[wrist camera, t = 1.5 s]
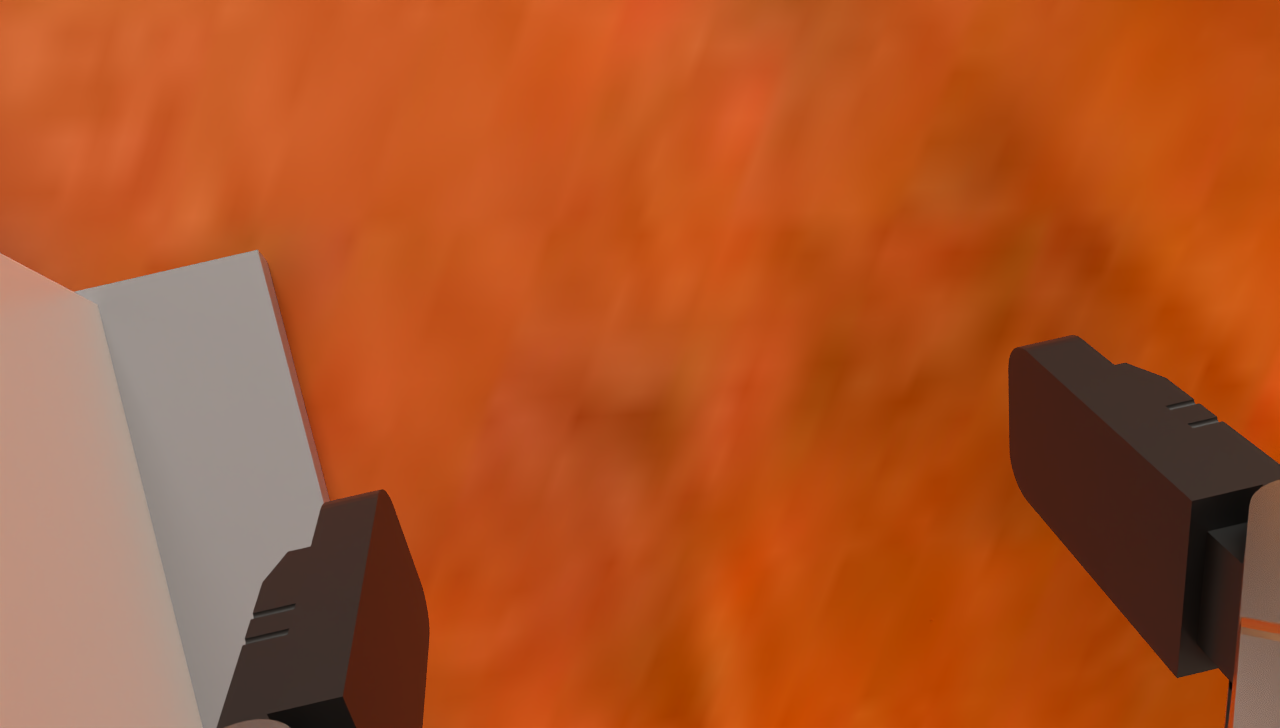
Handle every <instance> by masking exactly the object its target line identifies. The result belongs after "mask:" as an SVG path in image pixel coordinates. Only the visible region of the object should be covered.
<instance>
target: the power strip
mask: <svg viewBox="0 0 1280 728" xmlns="http://www.w3.org/2000/svg"><path fill="white" fill-rule="evenodd" d="M329 501H330V500H329V496H328V492H327V488H326V484H325V481H324V477H323V473H322V469H321V465H320V461H319V458H318V454H317V450H316V446H315V442H314V439H313V435H312V431H311V427H310V423H309V419H308V416H307V412H306V408H305V404H304V400H303V397H302V393H301V389H300V385H299V381H298V378H297V374H296V370H295V366H294V362H293V358H292V355H291V351H290V347H289V343H288V339H287V336H286V332H285V328H284V324H283V320H282V316H281V313H280V309H279V305H278V301H277V297H276V294H275V290H274V286H273V282H272V278H271V274H270V271H269V267H268V263H267V261H266V260H265V258H264V257H263V256H262V255H261V253H260V252H259V251H258V250H255V251H251V252H246V253H242V254H237V255H233V256H229V257H224V258H220V259H216V260H211V261H207V262H202V263H198V264H194V265H189V266H185V267H181V268H176V269H172V270H168V271H163V272H159V273H154V274H150V275H146V276H141V277H137V278H133V279H128V280H124V281H120V282H115V283H111V284H106V285H102V286H98V287H93V288H89V289H85V290H80V291H76V292H73V291H71V290H69V289H67V288H65V287H63V286H61V285H60V284H58V283H56V282H54V281H52V280H50V279H48V278H46V277H44V276H43V275H41V274H39V273H37V272H35V271H33V270H31V269H29V268H27V267H25V266H24V265H22V264H20V263H18V262H16V261H14V260H12V259H10V258H8V257H7V256H5V255H3V254H1V253H0V728H217V724H218V721H219V718H220V715H221V712H222V709H223V705H224V702H225V699H226V696H227V693H228V690H229V686H230V683H231V680H232V677H233V674H234V671H235V667H236V664H237V661H238V658H239V655H240V652H241V648H242V645H245V644H246V643H245V636H246V633H247V629H248V626H249V623H250V620H251V619H254V617H253V610H254V607H255V604H256V601H257V598H258V595H259V591H260V588H261V585H262V582H263V581H264V580H265V579H266V577H267V576H268V575H269V574H270V573H271V571H272V570H273V569H274V568H275V566H276V565H277V564H278V563H279V562H280V560H281V559H282V558H283V557H284V556H285V554H286V553H287V552H288V551H293V550H297V549H302V548H306V547H310V546H311V543H312V539H313V536H314V532H315V528H316V524H317V520H318V516H319V513H320V509H321V506H322V505H323V503H325V502H329Z"/></svg>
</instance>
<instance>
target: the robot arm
mask: <svg viewBox="0 0 1280 728" xmlns="http://www.w3.org/2000/svg"><path fill="white" fill-rule="evenodd" d="M1008 372H1009V438H1010V458H1011V464H1012V469H1013V472H1014V475H1015V478H1016V481H1017V484H1018V486H1019V488H1020V490H1021V492H1022V494H1023V495H1024V497H1025V498H1026V500H1027V501H1028V502H1029V503H1030V505H1031V506H1032V507H1033V508H1034V509H1035V510H1036V512H1037V513H1038V514H1039V515H1040V516H1041V518H1042V519H1043V520H1044V521H1045V522H1046V524H1047V525H1048V526H1049V527H1050V528H1051V529H1052V531H1053V532H1054V533H1055V534H1056V535H1057V537H1058V538H1059V539H1060V540H1061V541H1062V542H1063V544H1064V545H1065V546H1066V547H1067V548H1068V550H1069V551H1070V552H1071V553H1072V554H1073V555H1074V557H1075V558H1076V559H1077V560H1078V561H1079V563H1080V564H1081V565H1082V566H1083V567H1084V568H1085V570H1086V571H1087V572H1088V573H1089V574H1090V576H1091V577H1092V578H1093V579H1094V580H1095V581H1096V583H1097V584H1098V585H1099V586H1100V587H1101V589H1102V590H1103V591H1104V592H1105V593H1106V595H1107V596H1108V597H1109V598H1110V599H1111V600H1112V602H1113V603H1114V604H1115V605H1116V606H1117V608H1118V609H1119V610H1120V611H1121V612H1122V613H1123V615H1124V616H1125V617H1126V618H1127V619H1128V621H1129V622H1130V623H1131V624H1132V625H1133V626H1134V628H1135V629H1136V630H1137V631H1138V632H1139V634H1140V635H1141V636H1142V637H1143V638H1144V639H1145V641H1146V642H1147V643H1148V644H1149V645H1150V647H1151V648H1152V649H1153V650H1154V651H1155V652H1156V654H1157V655H1158V656H1159V657H1160V658H1161V660H1162V661H1163V662H1164V663H1165V664H1166V666H1167V667H1168V668H1169V669H1170V670H1171V671H1172V673H1173V674H1174V675H1175V676H1176V677H1177V678H1179V677H1183V676H1187V675H1191V674H1195V673H1200V672H1204V671H1208V670H1212V669H1216V668H1219V669H1220V670H1221V671H1222V673H1223V674H1224V675H1225V676H1226V677H1227V678H1228V679H1229V683H1228V692H1227V700H1226V711H1225V722H1224V728H1280V464H1278V463H1277V462H1276V461H1274V460H1273V459H1272V458H1271V457H1269V456H1268V455H1267V454H1265V453H1264V452H1263V451H1261V450H1260V449H1259V448H1257V447H1256V446H1255V445H1253V444H1252V443H1251V442H1249V441H1248V440H1247V439H1246V438H1244V437H1243V436H1242V435H1240V434H1239V433H1238V432H1236V431H1235V430H1234V429H1232V428H1231V427H1230V426H1228V425H1227V424H1226V423H1224V422H1218V420H1217V416H1215V415H1214V414H1213V413H1211V412H1210V411H1209V410H1207V409H1206V408H1205V407H1203V406H1202V405H1201V404H1195V403H1194V399H1193V398H1192V397H1190V396H1189V395H1188V394H1186V393H1185V392H1184V391H1182V390H1181V389H1180V388H1178V387H1177V386H1176V385H1174V384H1173V383H1172V382H1170V381H1169V380H1168V379H1167V378H1165V377H1162V376H1159V375H1157V374H1154V373H1151V372H1149V371H1146V370H1143V369H1141V368H1138V367H1135V366H1132V365H1130V364H1127V363H1122V364H1118V365H1114V364H1112V363H1111V362H1110V361H1109V360H1107V359H1106V358H1105V357H1104V356H1102V355H1101V354H1100V353H1099V352H1097V351H1096V350H1095V349H1094V348H1092V347H1091V346H1090V345H1089V344H1087V343H1086V342H1085V341H1084V340H1082V339H1081V338H1079V337H1078V336H1075V335H1070V336H1066V337H1062V338H1057V339H1053V340H1048V341H1044V342H1039V343H1035V344H1031V345H1026V346H1022V347H1017V348H1015V349H1014V350H1013V351H1012V353H1011V355H1010V358H1009V368H1008ZM253 617H254V619H251V620H250V623H249V626H248V629H247V633H246V636H245V643H246V644H245V645H242V648H241V652H240V655H239V658H238V661H237V664H236V667H235V671H234V674H233V677H232V680H231V683H230V686H229V690H228V693H227V696H226V699H225V702H224V705H223V709H222V712H221V715H220V718H219V721H218V724H217V728H422V725H423V712H424V699H425V686H426V673H427V660H428V648H429V618H428V611H427V605H426V600H425V596H424V592H423V588H422V585H421V582H420V579H419V577H418V574H417V571H416V568H415V565H414V563H413V560H412V557H411V554H410V551H409V548H408V546H407V543H406V540H405V537H404V534H403V532H402V529H401V526H400V523H399V520H398V518H397V515H396V512H395V509H394V506H393V504H392V501H391V499H390V497H389V495H388V494H387V492H386V491H385V490H377V491H373V492H369V493H364V494H360V495H355V496H351V497H347V498H342V499H338V500H333V501H329V502H325V503H323V505H322V506H321V509H320V513H319V516H318V520H317V524H316V528H315V532H314V536H313V539H312V543H311V546H310V547H306V548H302V549H297V550H293V551H288V552H287V553H286V554H285V556H284V557H283V558H282V559H281V560H280V562H279V563H278V564H277V565H276V566H275V568H274V569H273V570H272V571H271V573H270V574H269V575H268V576H267V577H266V579H265V580H264V581H263V582H262V585H261V588H260V591H259V595H258V598H257V601H256V604H255V607H254V610H253Z"/></svg>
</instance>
